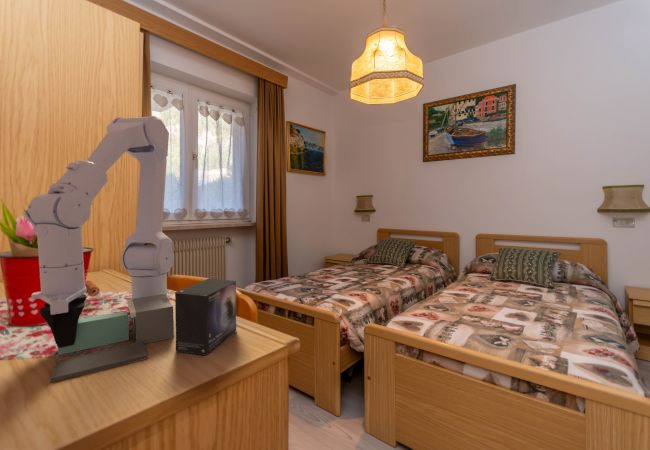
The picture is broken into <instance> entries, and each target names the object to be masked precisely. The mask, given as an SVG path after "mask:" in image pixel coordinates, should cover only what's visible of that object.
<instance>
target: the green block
mask: <svg viewBox="0 0 650 450" xmlns="http://www.w3.org/2000/svg"><path fill="white" fill-rule="evenodd" d="M129 340H130V334H129V315H128V311H127V310H125V311H118V312H113V313H108V314H101V315H94V316H87V317H82V318H79V319H78V324H77V332H76V338H75V342H74V345H71V346H66V347H61V348H58V347H57V352H58V356H59V355H65V354H70V353H73V352H74V353H76V352H78V351H83V350H88V349H94V348H96V347H101V346H106V345H111V344H116V343H120V342H124V341H125V342H126V341H129Z"/></svg>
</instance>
